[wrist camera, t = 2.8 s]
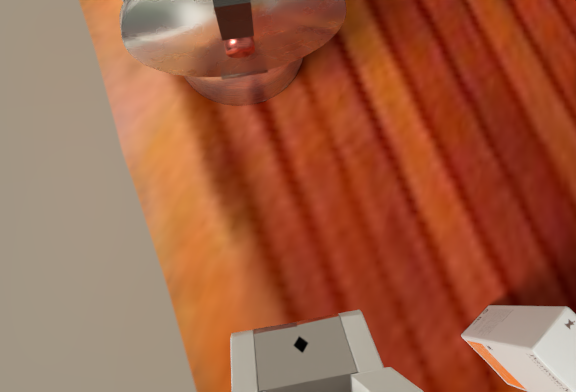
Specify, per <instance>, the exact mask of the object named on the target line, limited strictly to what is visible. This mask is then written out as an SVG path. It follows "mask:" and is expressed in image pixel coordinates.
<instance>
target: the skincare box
mask: <svg viewBox="0 0 576 392" xmlns="http://www.w3.org/2000/svg"><path fill="white" fill-rule="evenodd" d="M461 337H462V338H463V339H464V340H465V341H466V342H467V343H468V344H469V345H470V346H471V347H472V348H473V349H474V350H475V351H476V352H477V353H478V354H479V355H480V356H481V357H482V358H483V359H484V360H485V361H486V362H487V363H488V364H489V365H490V366H491V367H492V368H493V369H494V370H495V371H496V373H497V374H498V375H499V376H500V377H501V378H502V379H503V380H504V381H505V382H506V383H507V384H508V385H511V386H514V387H516V388H519V389H522V390H524V391H527V392H576V314H575V313H574V312H573V311H572V310H571V309H570V308H569V307H567V306H506V305H489V306H488V307H487V308H486V309H485V310H484V311H483V312H482V313H481V314H480V315H479V316H478V317H477V318H476V320H475V321H474V322H473V323H472V324H471V325H470V326H469V327H468V328H467V329H466V330H465V331H464V332H463V333H462V334H461Z"/></svg>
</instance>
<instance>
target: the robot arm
mask: <svg viewBox="0 0 576 392" xmlns="http://www.w3.org/2000/svg"><path fill="white" fill-rule="evenodd" d="M230 344H231V385H232V392H424V391H422V390H421V389H420V388H418V387H417V386H416V385H414V384H413V383H412V382H410V381H409V380H408V379H406V378H405V377H404V376H402V375H401V374H399V373H398V372H397V371H395V370H394V369H393V368H391V367H387V368H384V367H383V364H382V362H381V359H380V357H379V354H378V351H377V349H376V346H375V344H374V341H373V339H372V336H371V334H370V331H369V329H368V326H367V324H366V321H365V319H364V316H363V313H362V312H361V311H360V310H355V311H350V312H345V313H339V314H334V315H329V316H323V317H318V318H313V319H308V320H303V321H298V322H296V323H290V324H283V325H277V326H271V327H265V328H258V329H254V330H248V331H242V332H236V333H232V334H231V339H230Z"/></svg>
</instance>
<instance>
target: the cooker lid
mask: <svg viewBox="0 0 576 392" xmlns="http://www.w3.org/2000/svg"><path fill="white" fill-rule="evenodd" d="M345 16H346V3H345V0H125V1H124V3H123V5H122V7H121V11H120V28H121V35H122V40H123V43H124V46H125V47H126V49H127V50H128V52H129V53H130V54H131V55H132V56H133V57H134V58H136V59H137V60H139V61H140V62H142V63H143V64H145V65H147V66H149V67H152V68H154V69H157V70H160V71H164V72H167V73H172V74H176V75H183V76H192V77H221V78H222V80H224V79H230V78H237V77H243V76H250V75H256V74H263V73H268V70H269V69H273V68H276V67H280V66H282V65H285V64H288V63H291V62H293V61H296V60H298V59H300V58H302V57H304V56H306V55H308V54H310V53H312V52H314V51H315V50H317V49H318V48H320V47H321V46H323V45H324V44H325V43H327V42H328V41H329V40H330V39H331V38H332V37H333V36H334V35H335V34H336V33H337V32H338V30H339V29H340V28H341V26H342V24H343V22H344V20H345Z"/></svg>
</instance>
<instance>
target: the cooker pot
mask: <svg viewBox="0 0 576 392" xmlns="http://www.w3.org/2000/svg"><path fill="white" fill-rule="evenodd" d="M124 1H125V0H124ZM302 59H303V57H302V58H300V59H298V60H296V61H293V62H291V63H288V64H285V65H282V66H280V67H276V68H273V69H269V70H268V73H263V74H256V75H250V76H243V77H237V78H230V79H224V80H222V78H221V77H192V76H184V77H185V79H186V80H187V82H188V83H189V84H190V85H191V86H192V87H193V88H194V89H195V90H196V91H197V92H199V93H200V94H201V95H203V96H205V97H206V98H208V99H210V100H213V101H215V102H218V103H222V104H227V105H236V106H243V105H251V104H256V103H260V102H263V101H265V100H268V99H270V98H272V97H274V96H275V95H277V94H278V93H280V92H281V91H282V90H284V89H285V88H286V87H287V86H288V85H289V84H290V83H291V82H292V80H293V79H294V77H295V76H296V74H297V72H298V70H299V68H300V66H301V63H302Z"/></svg>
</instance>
